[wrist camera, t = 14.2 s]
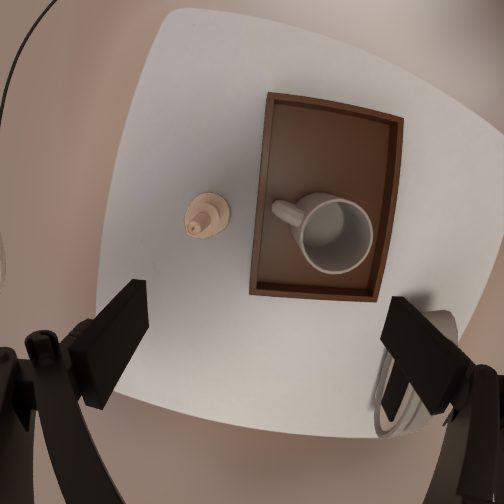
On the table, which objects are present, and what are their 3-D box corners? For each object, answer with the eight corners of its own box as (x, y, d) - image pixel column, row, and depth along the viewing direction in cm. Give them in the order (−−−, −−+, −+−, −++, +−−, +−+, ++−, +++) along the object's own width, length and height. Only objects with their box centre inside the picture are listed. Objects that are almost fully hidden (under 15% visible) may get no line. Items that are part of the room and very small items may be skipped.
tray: (266, 98, 32) (267, 91, 29) (392, 121, 32) (404, 118, 29) (249, 284, 38) (248, 294, 35) (368, 292, 39) (376, 302, 35)
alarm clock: (395, 295, 39) (439, 340, 26) (428, 293, 39) (475, 333, 26) (365, 409, 45) (386, 460, 33) (394, 404, 45) (418, 452, 33)
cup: (331, 258, 36) (352, 284, 28) (258, 228, 36) (259, 247, 27) (355, 206, 35) (384, 218, 26) (281, 172, 34) (290, 173, 25)
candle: (185, 230, 36) (161, 252, 26) (191, 189, 35) (168, 196, 25) (226, 237, 37) (216, 263, 27) (233, 196, 35) (225, 206, 25)
